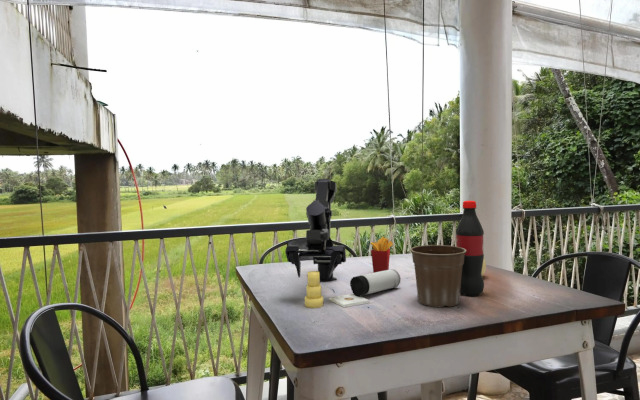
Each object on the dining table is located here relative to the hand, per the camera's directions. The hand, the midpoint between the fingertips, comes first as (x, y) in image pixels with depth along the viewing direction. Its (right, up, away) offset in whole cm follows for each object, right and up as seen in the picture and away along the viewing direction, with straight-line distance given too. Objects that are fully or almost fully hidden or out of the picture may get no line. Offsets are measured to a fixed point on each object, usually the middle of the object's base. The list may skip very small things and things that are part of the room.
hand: (313, 276), depth 126 cm
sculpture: (+58, -6, +31) cm, 66 cm away
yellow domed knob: (0, -9, 0) cm, 9 cm away
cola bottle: (+50, -7, +9) cm, 51 cm away
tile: (+11, -8, +3) cm, 14 cm away
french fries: (+27, -6, +40) cm, 48 cm away
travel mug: (+28, -4, +19) cm, 34 cm away
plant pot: (+38, -8, 0) cm, 38 cm away
